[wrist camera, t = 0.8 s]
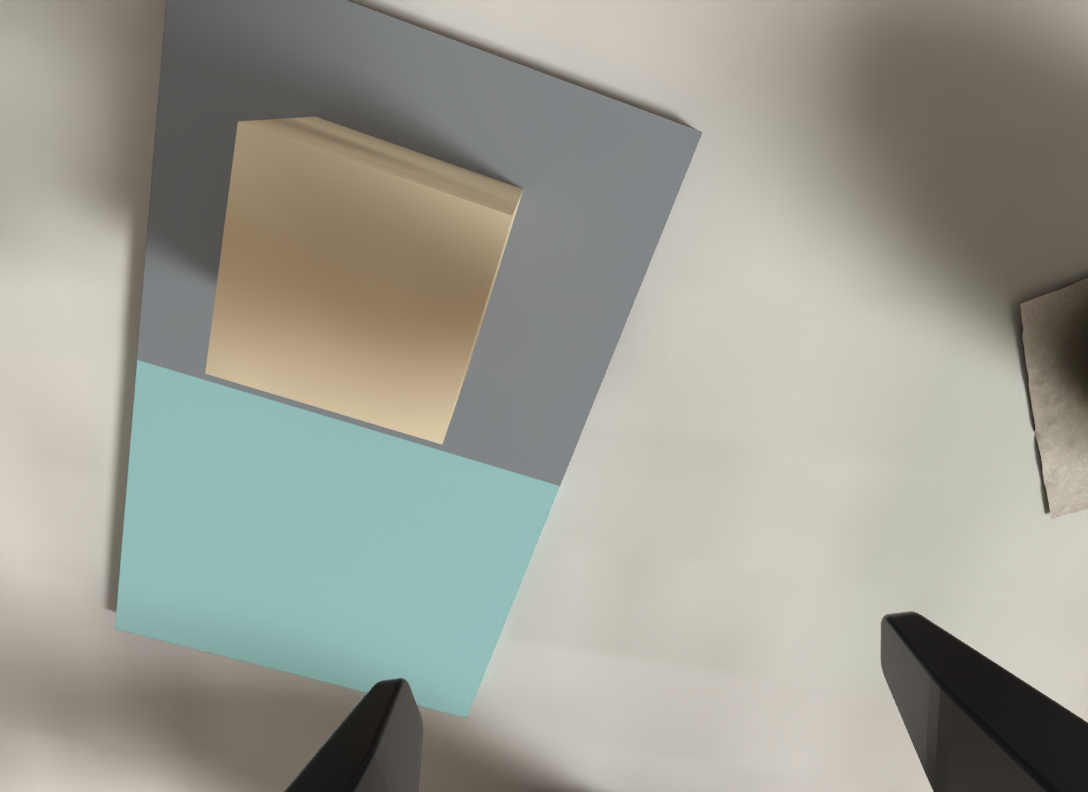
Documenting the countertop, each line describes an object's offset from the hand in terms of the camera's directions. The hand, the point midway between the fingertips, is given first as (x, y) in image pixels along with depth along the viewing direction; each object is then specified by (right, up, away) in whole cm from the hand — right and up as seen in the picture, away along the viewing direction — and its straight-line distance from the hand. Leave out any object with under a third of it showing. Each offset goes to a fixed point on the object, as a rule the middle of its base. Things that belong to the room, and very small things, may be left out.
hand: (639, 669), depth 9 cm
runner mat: (-7, +3, +10) cm, 12 cm away
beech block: (-5, +7, +7) cm, 11 cm away
